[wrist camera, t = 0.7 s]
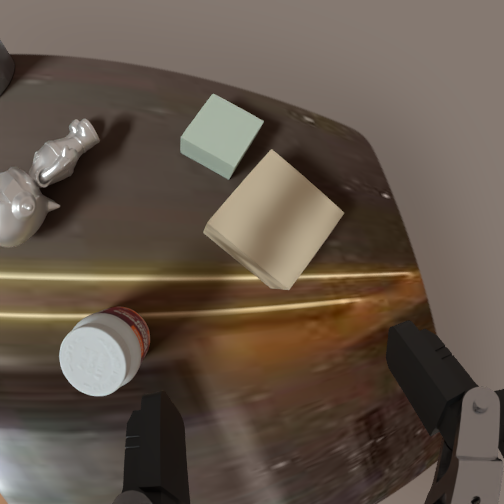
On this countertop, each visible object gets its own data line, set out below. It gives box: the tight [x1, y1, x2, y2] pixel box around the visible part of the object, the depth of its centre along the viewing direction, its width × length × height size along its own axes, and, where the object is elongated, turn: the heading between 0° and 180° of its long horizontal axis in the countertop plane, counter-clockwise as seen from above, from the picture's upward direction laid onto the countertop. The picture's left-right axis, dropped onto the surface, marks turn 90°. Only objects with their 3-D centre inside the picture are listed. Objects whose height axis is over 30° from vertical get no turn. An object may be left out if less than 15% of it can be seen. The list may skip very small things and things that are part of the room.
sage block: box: [181, 94, 264, 180], centre depth 32 cm, size 6×6×4 cm
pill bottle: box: [59, 307, 150, 396], centre depth 25 cm, size 6×6×11 cm
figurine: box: [0, 119, 100, 247], centre depth 27 cm, size 10×7×15 cm
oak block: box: [203, 149, 344, 290], centre depth 31 cm, size 9×9×6 cm
